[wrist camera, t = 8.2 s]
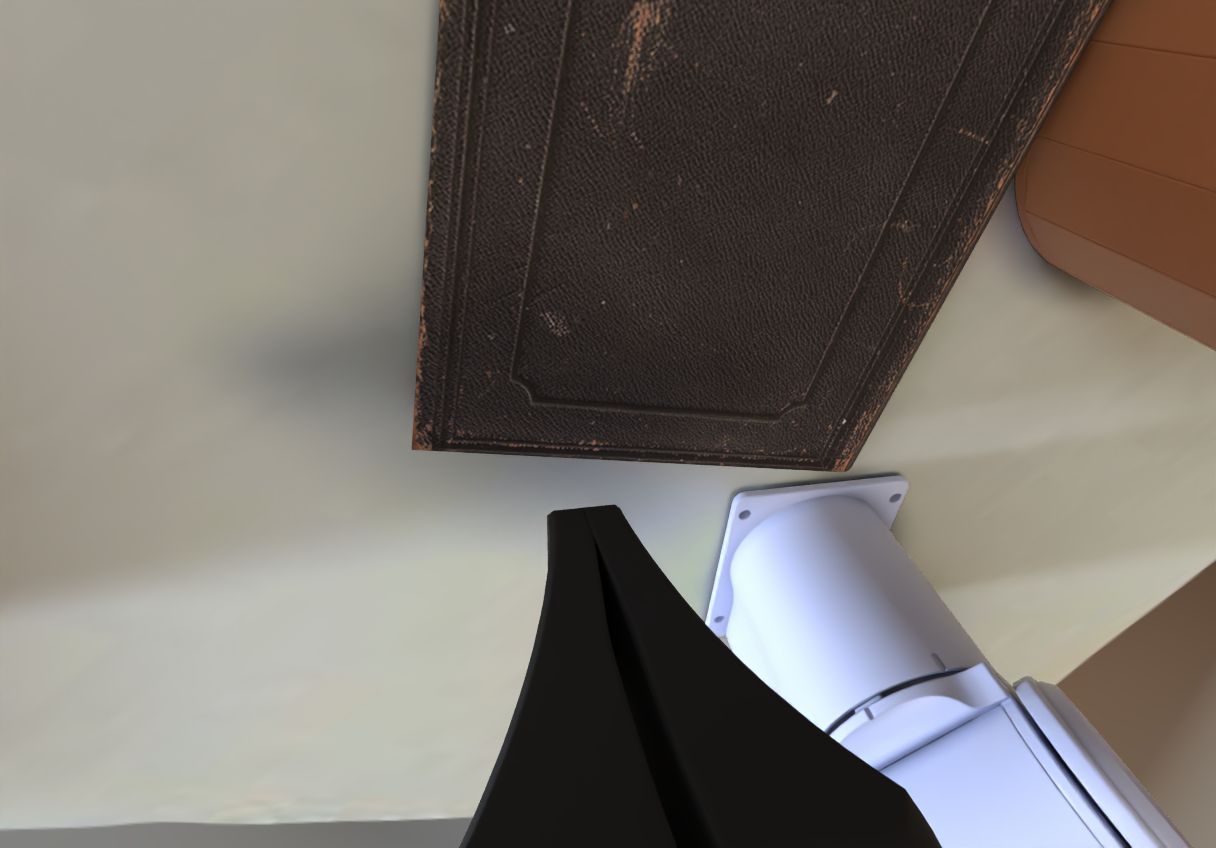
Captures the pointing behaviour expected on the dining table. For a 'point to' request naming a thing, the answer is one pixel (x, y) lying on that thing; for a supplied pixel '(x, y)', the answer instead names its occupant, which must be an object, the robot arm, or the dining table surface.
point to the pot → (1134, 165)
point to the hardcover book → (711, 214)
